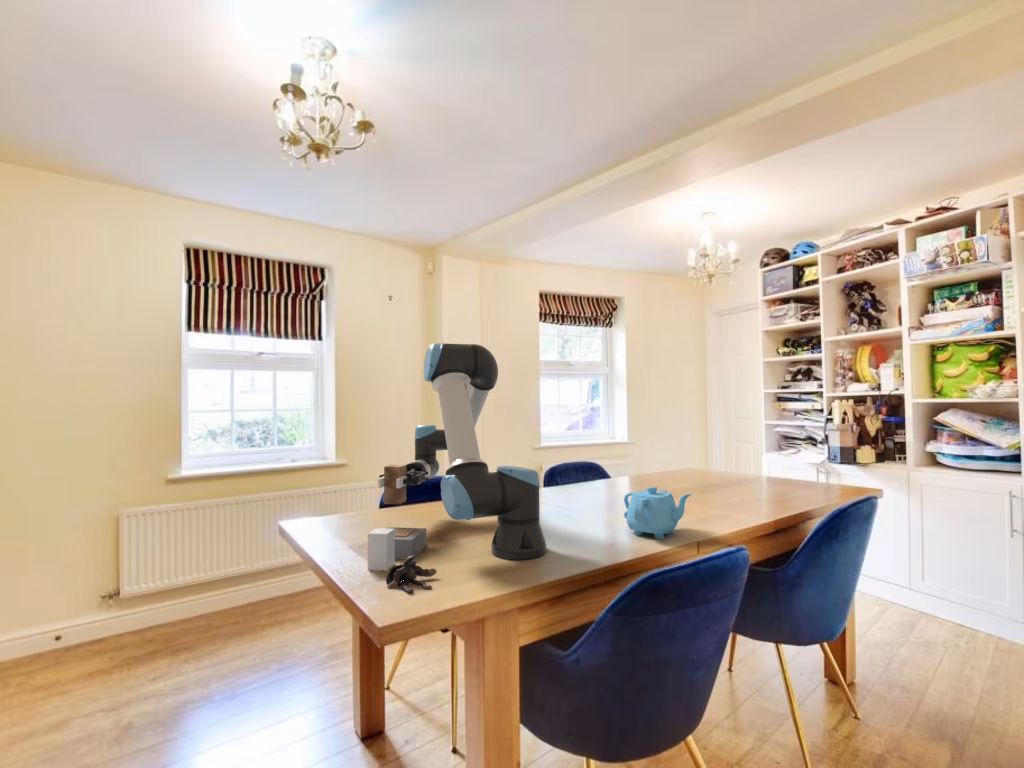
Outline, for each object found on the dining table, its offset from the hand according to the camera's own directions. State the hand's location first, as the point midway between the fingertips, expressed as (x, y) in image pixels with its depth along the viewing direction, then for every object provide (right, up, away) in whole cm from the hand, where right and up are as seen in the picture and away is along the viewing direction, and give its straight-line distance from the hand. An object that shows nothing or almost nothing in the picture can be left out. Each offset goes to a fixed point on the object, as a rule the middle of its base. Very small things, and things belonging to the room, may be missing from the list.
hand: (388, 483), depth 145 cm
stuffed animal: (+13, -17, -30) cm, 37 cm away
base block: (+5, -17, -7) cm, 19 cm away
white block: (+3, -17, -20) cm, 26 cm away
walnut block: (+1, -7, +5) cm, 8 cm away
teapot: (+81, -17, +8) cm, 83 cm away
